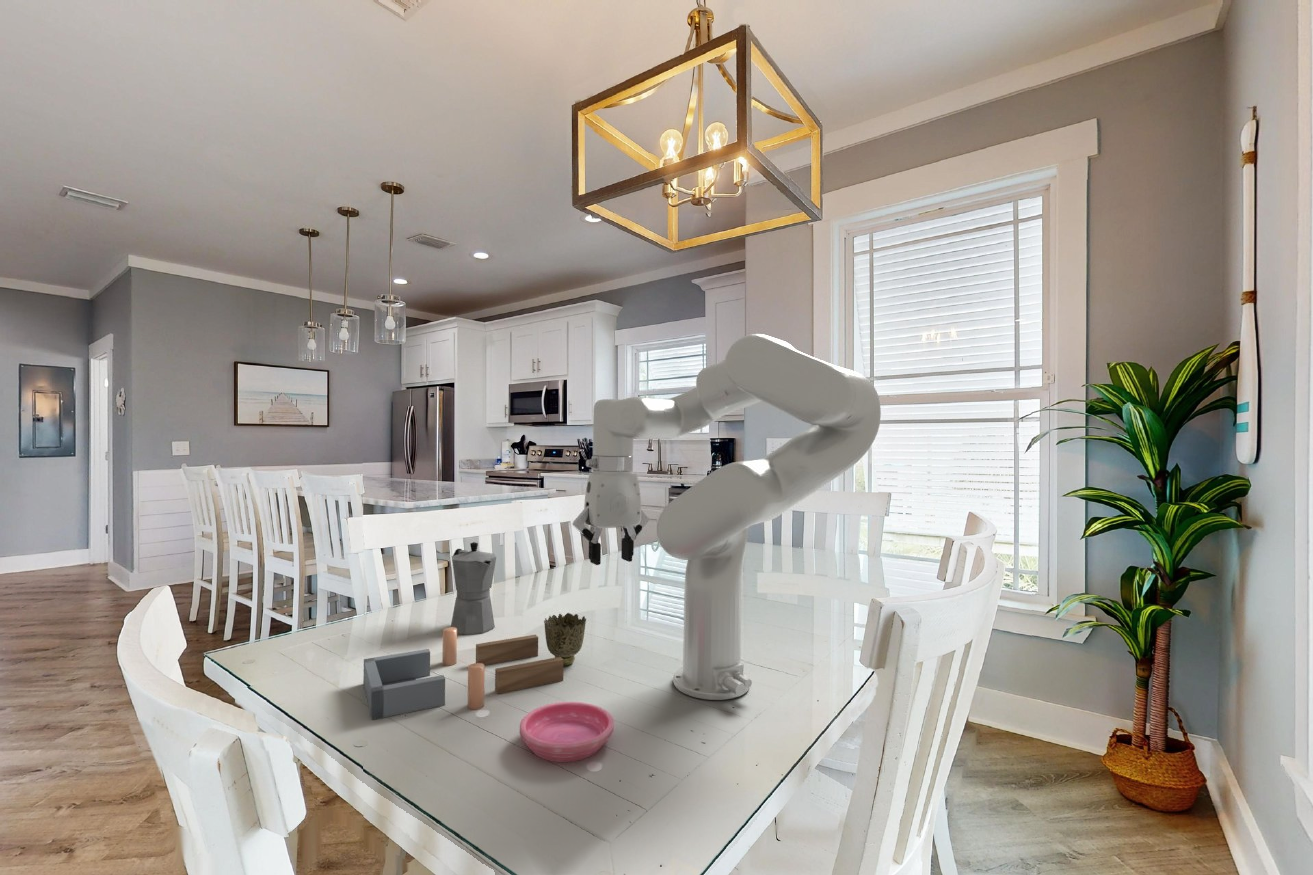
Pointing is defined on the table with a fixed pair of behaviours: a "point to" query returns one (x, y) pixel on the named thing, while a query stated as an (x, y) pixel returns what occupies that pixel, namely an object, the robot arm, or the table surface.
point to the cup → (565, 636)
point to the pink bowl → (566, 730)
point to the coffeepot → (473, 591)
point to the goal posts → (474, 670)
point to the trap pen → (401, 684)
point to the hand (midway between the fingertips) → (611, 560)
